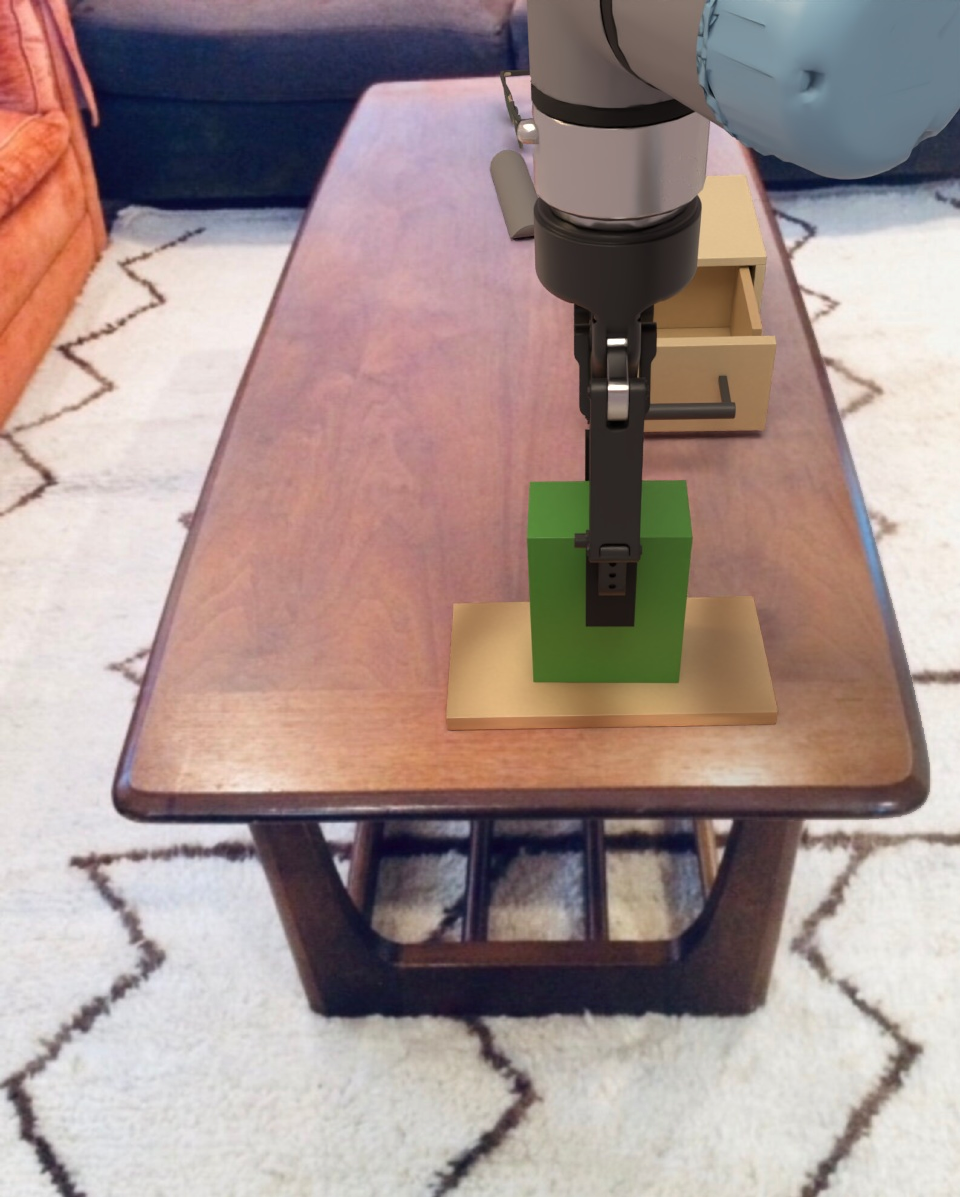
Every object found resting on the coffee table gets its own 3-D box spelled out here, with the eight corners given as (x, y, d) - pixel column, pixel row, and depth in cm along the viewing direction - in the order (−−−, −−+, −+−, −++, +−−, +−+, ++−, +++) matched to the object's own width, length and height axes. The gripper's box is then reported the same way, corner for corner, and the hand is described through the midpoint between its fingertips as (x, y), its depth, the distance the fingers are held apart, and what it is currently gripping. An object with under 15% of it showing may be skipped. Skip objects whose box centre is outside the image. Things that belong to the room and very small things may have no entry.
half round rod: (511, 243, 113) (511, 227, 112) (489, 167, 127) (488, 151, 126) (552, 239, 113) (552, 222, 112) (525, 162, 127) (524, 147, 126)
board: (751, 608, 74) (753, 595, 73) (775, 724, 66) (778, 711, 66) (454, 615, 75) (453, 603, 74) (447, 730, 68) (445, 718, 67)
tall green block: (678, 683, 68) (692, 537, 59) (533, 682, 69) (526, 538, 60) (673, 625, 71) (686, 479, 63) (535, 625, 72) (529, 481, 64)
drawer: (772, 468, 83) (785, 379, 77) (594, 470, 84) (595, 383, 78) (744, 333, 96) (754, 250, 91) (591, 336, 98) (592, 255, 92)
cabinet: (754, 359, 95) (767, 256, 88) (585, 362, 96) (585, 261, 90) (735, 271, 106) (746, 174, 99) (584, 275, 107) (584, 179, 101)
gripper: (538, 107, 57) (547, 460, 72) (525, 317, 42) (540, 704, 57) (685, 101, 56) (662, 458, 72) (725, 313, 41) (685, 705, 57)
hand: (608, 567), depth 65 cm, fingers open, 8 cm apart
